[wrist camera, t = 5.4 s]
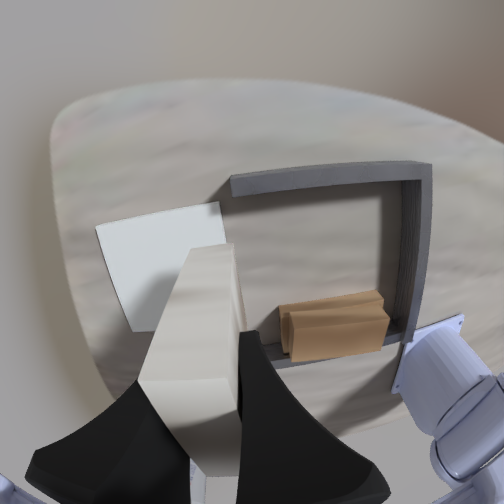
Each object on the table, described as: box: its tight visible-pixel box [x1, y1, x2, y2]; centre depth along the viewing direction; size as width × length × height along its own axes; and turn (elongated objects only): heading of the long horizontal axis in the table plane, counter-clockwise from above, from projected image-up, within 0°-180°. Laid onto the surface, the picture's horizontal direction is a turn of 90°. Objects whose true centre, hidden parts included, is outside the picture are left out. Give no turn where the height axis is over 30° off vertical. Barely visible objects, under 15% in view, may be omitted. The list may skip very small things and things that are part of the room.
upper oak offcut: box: [287, 304, 390, 362], centre depth 18 cm, size 3×7×2 cm, turn 91°
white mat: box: [96, 201, 227, 332], centre depth 18 cm, size 9×9×1 cm
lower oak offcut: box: [279, 290, 384, 353], centre depth 20 cm, size 4×8×2 cm, turn 97°
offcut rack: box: [230, 161, 432, 369], centre depth 18 cm, size 14×13×2 cm
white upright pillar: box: [137, 242, 248, 477], centre depth 10 cm, size 6×2×8 cm, turn 8°
